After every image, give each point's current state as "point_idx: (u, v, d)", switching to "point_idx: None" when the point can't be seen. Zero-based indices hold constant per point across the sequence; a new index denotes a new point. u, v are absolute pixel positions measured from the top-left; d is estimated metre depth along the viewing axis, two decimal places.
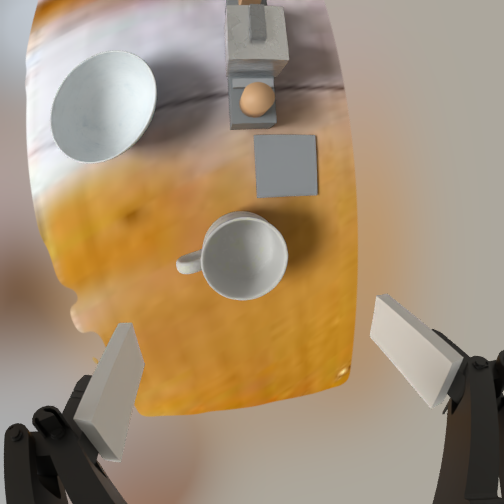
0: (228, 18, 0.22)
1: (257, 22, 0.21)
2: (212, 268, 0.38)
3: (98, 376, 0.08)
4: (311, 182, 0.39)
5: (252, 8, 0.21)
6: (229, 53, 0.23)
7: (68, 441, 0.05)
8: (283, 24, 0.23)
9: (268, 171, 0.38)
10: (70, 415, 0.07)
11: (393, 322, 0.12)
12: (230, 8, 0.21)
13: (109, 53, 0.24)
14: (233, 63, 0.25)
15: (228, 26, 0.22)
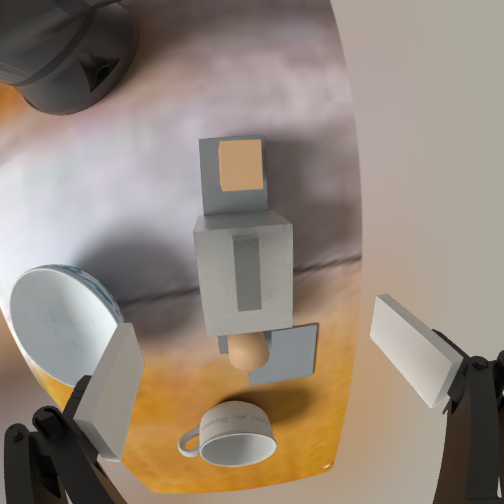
0: (199, 264, 0.18)
1: (246, 282, 0.18)
2: None
3: (98, 376, 0.08)
4: (307, 367, 0.36)
5: (238, 250, 0.17)
6: (207, 328, 0.20)
7: (68, 441, 0.05)
8: (289, 265, 0.19)
9: None
10: (70, 415, 0.07)
11: (393, 322, 0.12)
12: (200, 239, 0.18)
13: (49, 270, 0.20)
14: None
15: (200, 281, 0.18)
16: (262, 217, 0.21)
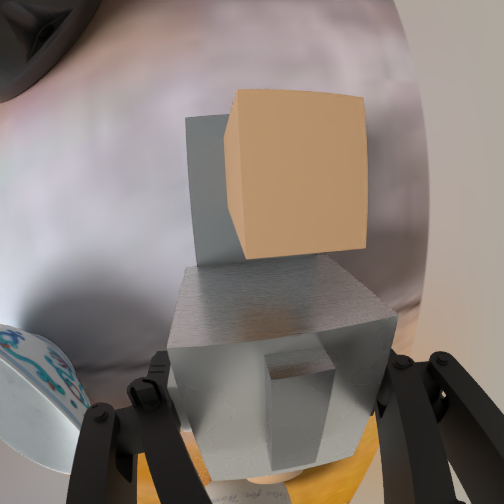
0: (188, 404, 0.07)
1: (294, 440, 0.07)
2: None
3: None
4: None
5: (284, 397, 0.06)
6: (212, 474, 0.09)
7: (161, 413, 0.07)
8: (375, 386, 0.08)
9: None
10: None
11: None
12: (186, 363, 0.07)
13: None
14: None
15: (194, 428, 0.07)
16: (318, 283, 0.10)
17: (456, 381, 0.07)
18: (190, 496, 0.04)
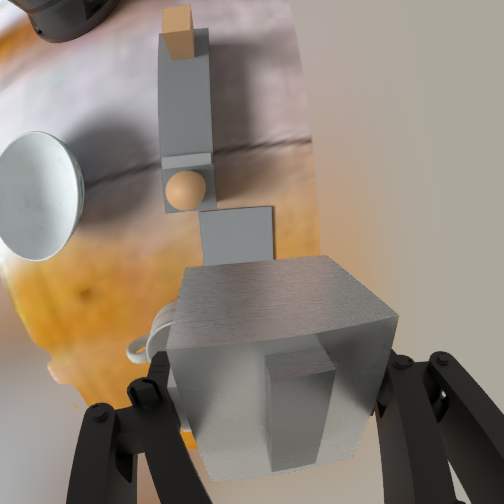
0: (187, 405, 0.07)
1: (294, 441, 0.07)
2: (164, 349, 0.36)
3: None
4: None
5: (284, 399, 0.06)
6: (211, 475, 0.09)
7: (161, 413, 0.07)
8: (375, 387, 0.08)
9: (216, 252, 0.35)
10: None
11: None
12: (186, 364, 0.07)
13: (31, 134, 0.21)
14: None
15: (194, 429, 0.07)
16: (319, 283, 0.10)
17: (456, 381, 0.07)
18: (191, 496, 0.04)
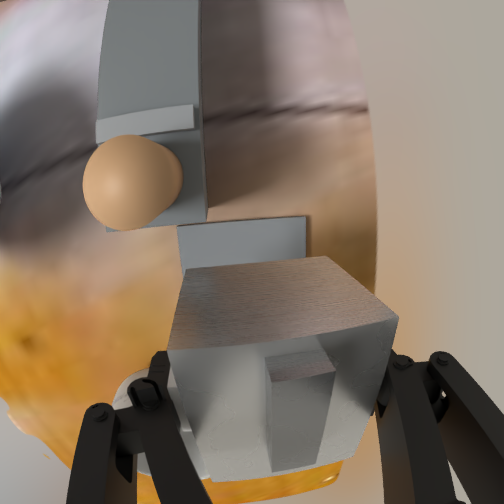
0: (188, 406, 0.07)
1: (294, 442, 0.07)
2: None
3: None
4: None
5: (284, 400, 0.06)
6: (212, 475, 0.09)
7: (161, 413, 0.07)
8: (375, 387, 0.08)
9: None
10: None
11: None
12: (186, 366, 0.07)
13: None
14: None
15: (194, 430, 0.07)
16: (319, 284, 0.10)
17: (456, 381, 0.07)
18: (190, 496, 0.04)
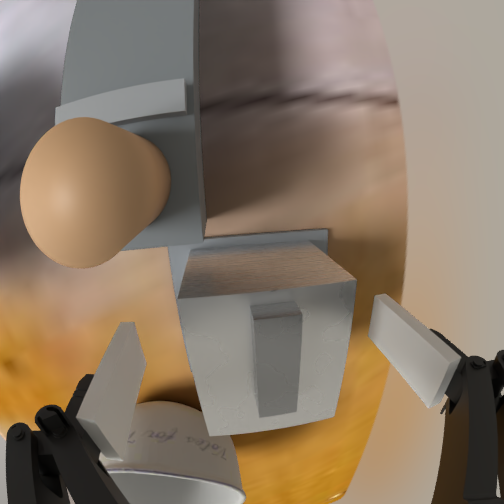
0: (191, 350, 0.10)
1: (275, 383, 0.09)
2: None
3: (100, 375, 0.09)
4: None
5: (264, 337, 0.09)
6: (209, 428, 0.11)
7: (71, 440, 0.05)
8: (344, 343, 0.11)
9: None
10: (73, 414, 0.07)
11: (391, 322, 0.12)
12: (191, 312, 0.09)
13: None
14: None
15: (195, 374, 0.10)
16: (296, 258, 0.12)
17: None
18: None
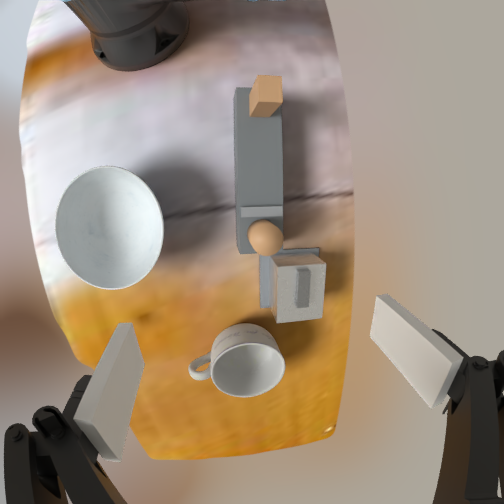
0: (278, 283, 0.35)
1: (303, 293, 0.35)
2: (219, 367, 0.41)
3: (98, 376, 0.08)
4: None
5: (300, 277, 0.34)
6: (277, 318, 0.36)
7: (68, 441, 0.05)
8: (323, 284, 0.36)
9: None
10: (70, 415, 0.07)
11: (393, 322, 0.12)
12: (280, 270, 0.34)
13: (109, 168, 0.28)
14: None
15: (278, 292, 0.35)
16: (308, 258, 0.38)
17: None
18: None
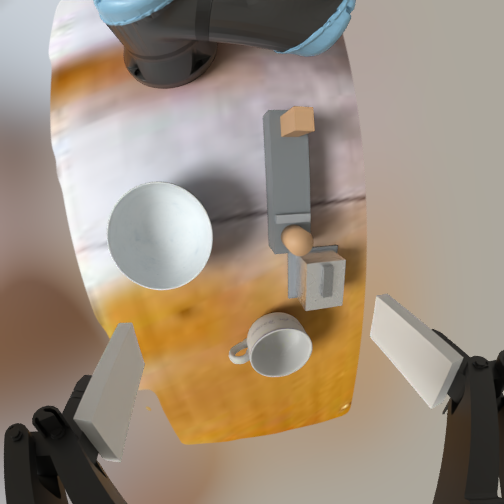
0: (307, 277, 0.41)
1: (327, 285, 0.41)
2: (253, 352, 0.48)
3: (98, 376, 0.08)
4: None
5: (326, 271, 0.40)
6: (306, 306, 0.43)
7: (68, 441, 0.05)
8: (343, 277, 0.42)
9: None
10: (70, 415, 0.07)
11: (393, 322, 0.12)
12: (309, 267, 0.41)
13: (160, 183, 0.34)
14: None
15: (307, 285, 0.42)
16: (329, 254, 0.44)
17: None
18: None
